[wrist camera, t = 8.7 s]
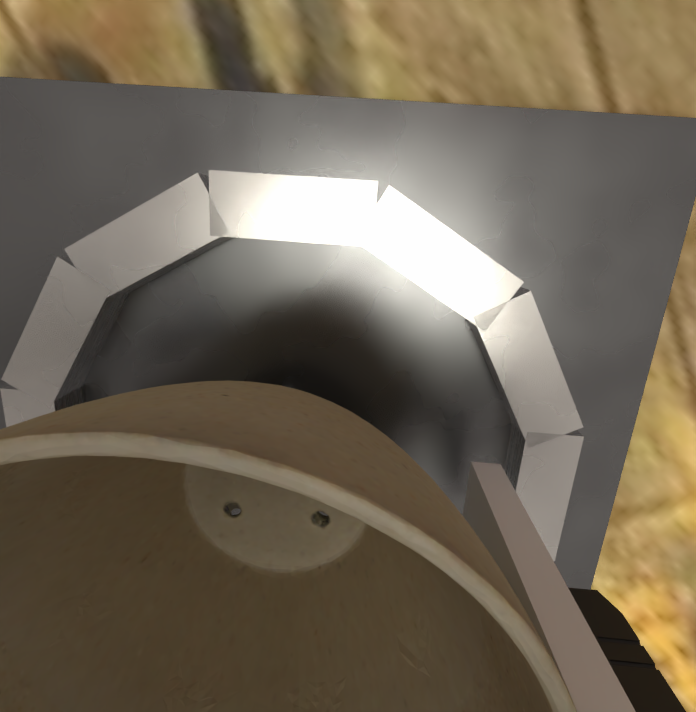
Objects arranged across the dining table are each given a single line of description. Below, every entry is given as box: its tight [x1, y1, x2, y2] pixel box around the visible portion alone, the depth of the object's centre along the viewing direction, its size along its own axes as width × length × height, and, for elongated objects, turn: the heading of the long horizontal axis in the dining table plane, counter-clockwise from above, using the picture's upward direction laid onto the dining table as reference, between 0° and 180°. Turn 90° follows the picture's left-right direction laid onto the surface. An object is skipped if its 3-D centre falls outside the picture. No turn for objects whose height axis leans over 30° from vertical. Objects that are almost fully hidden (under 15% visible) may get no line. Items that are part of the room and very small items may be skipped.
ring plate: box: [0, 77, 696, 590], centre depth 14 cm, size 20×20×2 cm
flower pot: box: [0, 381, 577, 712], centre depth 9 cm, size 10×10×7 cm
